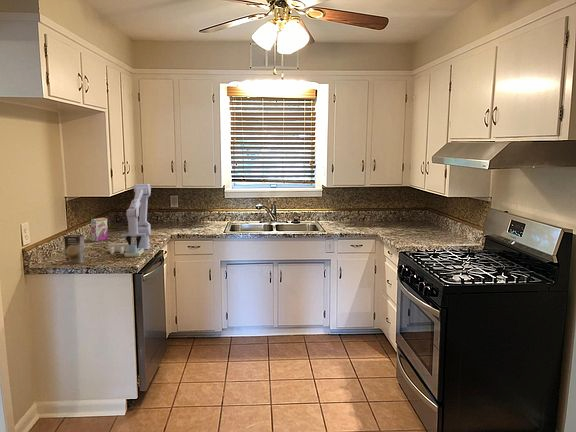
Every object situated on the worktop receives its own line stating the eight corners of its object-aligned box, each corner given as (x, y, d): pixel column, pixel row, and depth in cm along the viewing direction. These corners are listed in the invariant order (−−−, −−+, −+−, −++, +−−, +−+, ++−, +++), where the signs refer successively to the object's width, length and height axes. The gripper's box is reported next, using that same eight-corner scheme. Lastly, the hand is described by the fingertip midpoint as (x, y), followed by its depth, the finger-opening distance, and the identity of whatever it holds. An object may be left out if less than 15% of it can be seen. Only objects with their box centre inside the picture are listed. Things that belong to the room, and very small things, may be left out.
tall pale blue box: (132, 249, 289) (132, 238, 288) (138, 249, 289) (138, 238, 288) (128, 253, 279) (128, 241, 278) (135, 252, 279) (134, 241, 278)
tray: (130, 252, 292) (130, 248, 292) (143, 251, 293) (143, 248, 293) (124, 257, 278) (124, 253, 277) (138, 256, 279) (138, 252, 278)
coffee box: (65, 263, 261) (63, 236, 259) (70, 261, 267) (68, 234, 265) (81, 263, 261) (79, 236, 259) (85, 260, 267) (84, 234, 265)
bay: (109, 251, 295) (109, 243, 294) (130, 250, 296) (129, 243, 296) (105, 254, 286) (105, 246, 285) (126, 253, 288) (126, 245, 287)
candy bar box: (96, 241, 325) (94, 219, 323) (91, 241, 328) (90, 219, 325) (108, 239, 335) (107, 217, 333) (104, 238, 337) (102, 217, 335)
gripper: (119, 228, 278) (120, 249, 280) (143, 227, 280) (144, 249, 282) (122, 226, 285) (123, 247, 287) (145, 226, 287) (146, 246, 288)
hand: (134, 247), depth 285 cm, fingers closed on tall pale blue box, 4 cm apart
